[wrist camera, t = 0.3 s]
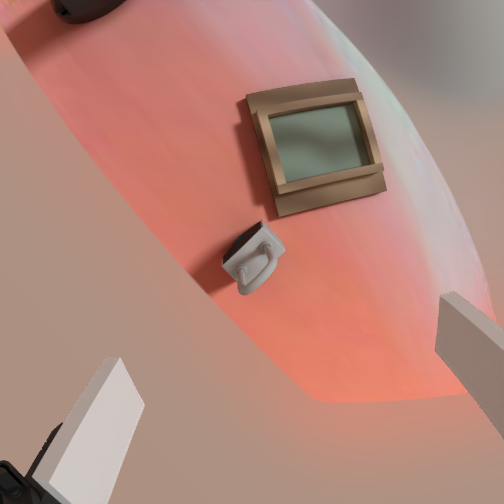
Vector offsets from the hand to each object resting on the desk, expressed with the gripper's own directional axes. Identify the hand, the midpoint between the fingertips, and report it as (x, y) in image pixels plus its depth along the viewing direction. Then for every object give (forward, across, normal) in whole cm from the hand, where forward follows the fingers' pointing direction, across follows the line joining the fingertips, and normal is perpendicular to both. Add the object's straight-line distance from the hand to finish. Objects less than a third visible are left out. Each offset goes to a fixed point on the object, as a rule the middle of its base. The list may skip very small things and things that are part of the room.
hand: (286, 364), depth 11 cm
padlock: (+26, -2, -2) cm, 26 cm away
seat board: (+27, +8, +9) cm, 30 cm away
